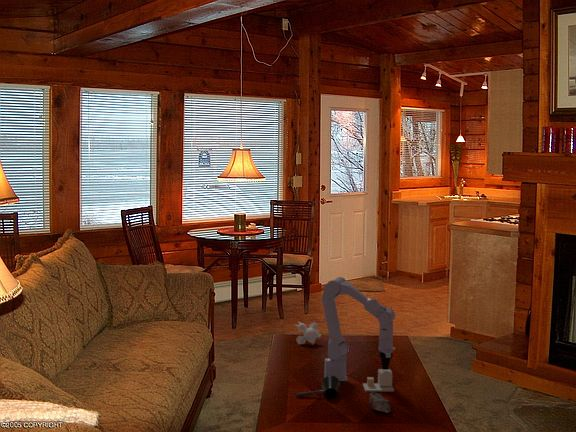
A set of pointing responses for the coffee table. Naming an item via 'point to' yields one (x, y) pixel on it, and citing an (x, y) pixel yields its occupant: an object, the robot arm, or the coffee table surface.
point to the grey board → (376, 386)
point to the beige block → (384, 377)
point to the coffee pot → (326, 388)
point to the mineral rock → (379, 402)
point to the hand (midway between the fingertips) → (385, 369)
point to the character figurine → (308, 333)
